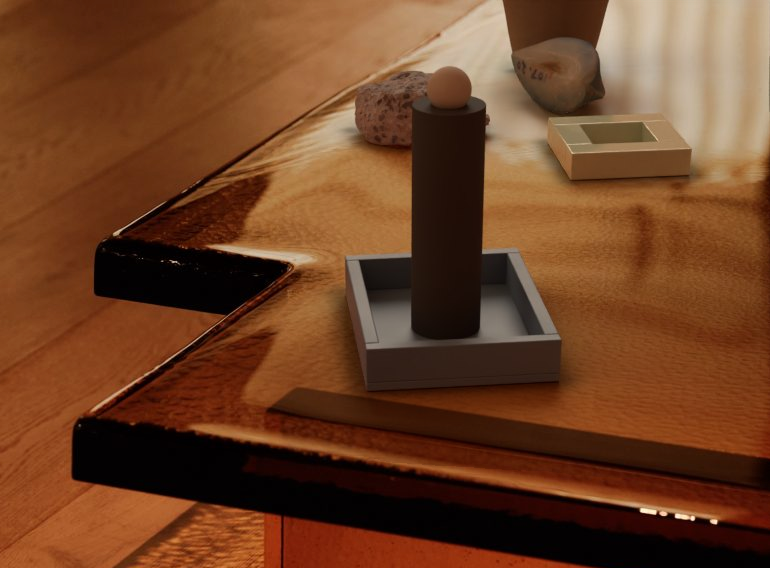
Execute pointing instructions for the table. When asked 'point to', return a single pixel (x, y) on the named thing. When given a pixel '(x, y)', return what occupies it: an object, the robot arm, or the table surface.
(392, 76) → the rock
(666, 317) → the table surface
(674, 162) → the beige square tray
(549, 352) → the grey tray
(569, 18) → the flower pot
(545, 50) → the seashell
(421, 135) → the dark brown tall cylinder
